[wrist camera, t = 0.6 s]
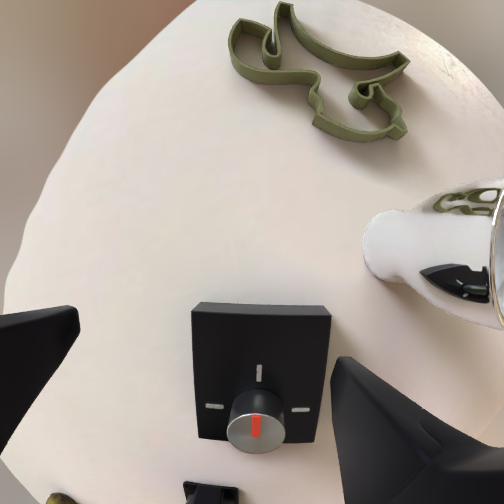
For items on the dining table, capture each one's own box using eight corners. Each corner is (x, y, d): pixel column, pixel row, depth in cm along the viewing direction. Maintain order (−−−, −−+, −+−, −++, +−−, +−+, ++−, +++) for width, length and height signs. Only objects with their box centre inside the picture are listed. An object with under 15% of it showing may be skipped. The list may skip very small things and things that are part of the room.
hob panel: (309, 424, 22) (314, 444, 19) (204, 420, 23) (198, 440, 20) (323, 305, 22) (332, 315, 19) (200, 301, 22) (190, 311, 19)
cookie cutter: (418, 78, 20) (427, 69, 18) (386, 167, 21) (396, 161, 19) (262, 6, 21) (262, -6, 19) (203, 79, 22) (198, 68, 20)
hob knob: (281, 427, 20) (282, 457, 16) (232, 425, 20) (226, 455, 16) (284, 389, 19) (288, 417, 16) (232, 387, 20) (225, 414, 16)
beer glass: (420, 289, 21) (549, 336, 6) (351, 282, 22) (468, 347, 7) (429, 211, 21) (563, 192, 6) (360, 198, 21) (486, 144, 6)
